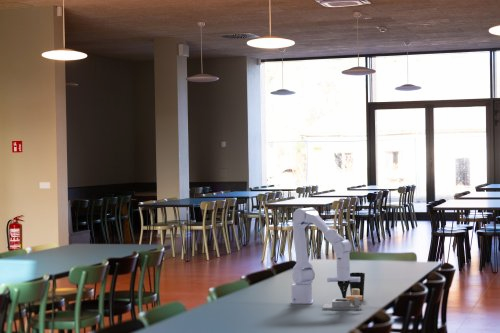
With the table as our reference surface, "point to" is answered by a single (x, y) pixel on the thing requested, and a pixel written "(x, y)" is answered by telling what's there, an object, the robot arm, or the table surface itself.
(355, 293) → the peg
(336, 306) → the dock
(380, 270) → the table surface
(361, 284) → the cup
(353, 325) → the table surface
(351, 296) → the pin
